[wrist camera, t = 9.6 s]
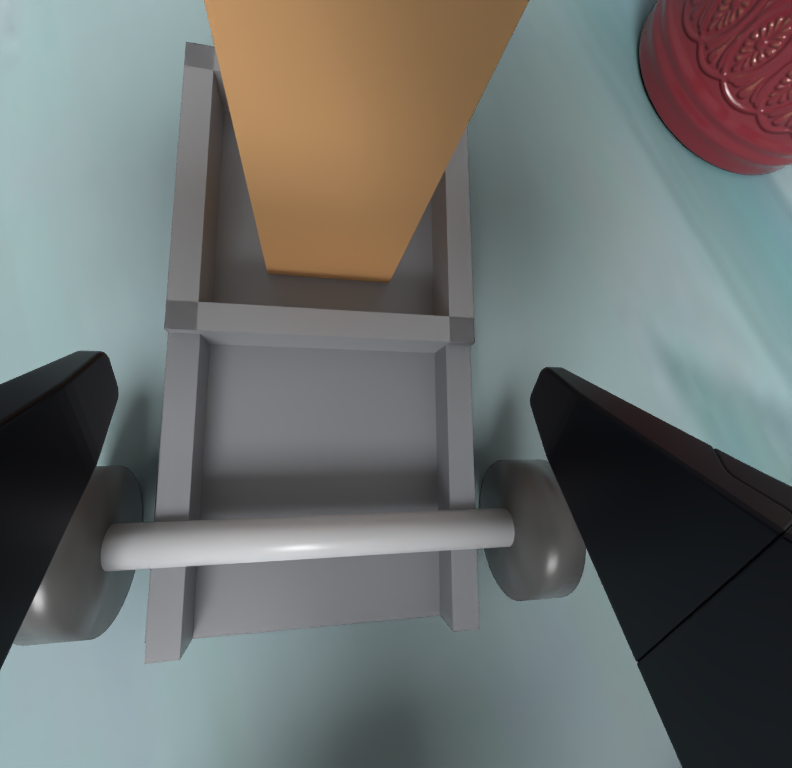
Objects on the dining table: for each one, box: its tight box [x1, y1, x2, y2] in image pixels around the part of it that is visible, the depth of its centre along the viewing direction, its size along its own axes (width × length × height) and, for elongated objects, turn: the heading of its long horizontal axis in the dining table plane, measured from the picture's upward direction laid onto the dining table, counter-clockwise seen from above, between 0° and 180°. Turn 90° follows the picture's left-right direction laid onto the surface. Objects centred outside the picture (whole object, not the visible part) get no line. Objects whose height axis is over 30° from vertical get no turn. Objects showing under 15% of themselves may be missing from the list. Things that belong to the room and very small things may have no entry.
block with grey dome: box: [204, 0, 529, 283], centre depth 11 cm, size 5×5×14 cm
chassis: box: [13, 42, 586, 664], centre depth 16 cm, size 22×17×5 cm
